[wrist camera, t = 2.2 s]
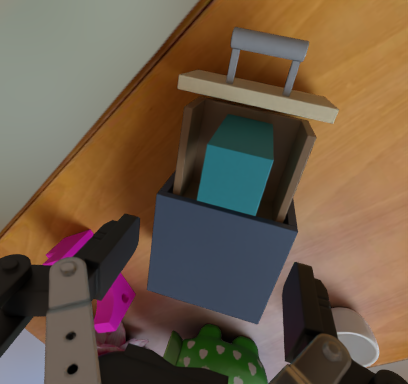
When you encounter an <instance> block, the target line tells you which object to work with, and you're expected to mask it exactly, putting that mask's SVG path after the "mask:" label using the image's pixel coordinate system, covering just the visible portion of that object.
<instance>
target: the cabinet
mask: <svg viewBox="0 0 408 384" xmlns="http://www.w3.org/2000/svg"><path fill="white" fill-rule="evenodd" d="M175 173H176V170H175V172H174V173H173V174H172V175H171V177H170V178H169V179H168V180H167V182H166V183H165V184H164V185H163V187H162V188H161V189H160V191H159V192H158V193H157V196H156V206H155V215H154V225H153V235H152V245H151V255H150V265H149V274H148V284H147V290H148V291H152V292H155V293H158V294H161V295H165V296H168V297H171V298H174V299H177V300H181V301H184V302H187V303H190V304H194V305H197V306H200V307H203V308H206V309H210V310H213V311H216V312H219V313H223V314H226V315H229V316H232V317H235V318H239V319H242V320H245V321H248V322H252V323H255V324H258V323H259V321H260V318H261V316H262V314H263V312H264V309H265V307H266V305H267V302H268V300H269V298H270V295H271V293H272V291H273V289H274V286H275V284H276V282H277V279H278V277H279V275H280V272H281V270H282V268H283V265H284V263H285V261H286V259H287V256H288V254H289V252H290V249H291V247H292V245H293V242H294V240H295V238H296V235H297V233H298V229H297V222H296V215H295V208H294V201H293V199H292V201H291V204H290V206H289V209H288V211H287V214H286V217H285V219H284V222H283V223H280V222H276V221H272V220H269V219H265V218H261V217H257V216H253V215H250V214H246V213H242V212H238V211H235V210H231V209H227V208H223V207H220V206H216V205H212V204H208V203H205V202H201V201H197V200H194V199H190V198H187V197H183V196H179V195H175V194H173V188H174V180H175Z"/></svg>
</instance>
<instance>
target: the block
mask: <svg viewBox="0 0 408 384" xmlns="http://www.w3.org/2000/svg"><path fill="white" fill-rule="evenodd" d="M273 161H274V159H273V124H270V123H266V122H261V121H257V120H253V119H248V118H244V117H240V116H235V115H231V114H227V116H226V117H225V119H224V120H223V122H222V123H221V125H220V126H219V128H218V129H217V131H216V132H215V134H214V135H213V136H212V138H211V139H210V141H209V142H208V144H207V147H206V153H205V158H204V163H203V169H202V174H201V179H200V185H199V190H198V195H197V201H201V202H205V203H208V204H212V205H216V206H220V207H223V208H227V209H231V210H235V211H238V212H242V213H246V214H250V215H253V216H256V213H257V210H258V207H259V204H260V201H261V198H262V195H263V192H264V189H265V185H266V182H267V179H268V176H269V173H270V170H271V167H272V164H273Z"/></svg>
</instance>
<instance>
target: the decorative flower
mask: <svg viewBox="0 0 408 384" xmlns="http://www.w3.org/2000/svg"><path fill="white" fill-rule="evenodd" d="M95 336H96V344H97V352H98V356H99V355H101V354H105V353H108V352H112V351H125V349H126V347H127V345H128V343H131V344H134V345H137V346H140V347H143V346H144V345H146V344H147V343H148V342H149V340H136V338H134V339H131V340H129V341H127V342H126V339H125V329H124V326H123V323H122V322H120V324H119V326H118V328H117V329H116V331H111V332H104V333H98V332H97V331H96V330H95ZM135 340H136V341H135Z"/></svg>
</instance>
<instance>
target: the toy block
mask: <svg viewBox="0 0 408 384" xmlns="http://www.w3.org/2000/svg"><path fill="white" fill-rule="evenodd" d="M93 235H94V234H93V232H92V231H91V229H90V230H87V231H84V232H81V233H78V234H75V235H72V236H69V237H66V238H64V239H63V240H61V241H60V242H59V243H58V244H57V245H56V246H55V247H54V248H53V249H52V250H50V251H49V252H48V253H47V254H46V256H47V257H48V258H49V259H48V260H47V261H46V262H45V263H44V264H43V265H53V264H54V263H55V262H57V261H58V260H60V259H63V258H66V257H73V256H74V255H75V254H76V253H77V252H78V251H79V250H80V249H81V247H82V246H83V245H84V244H85V243H86V242H87V241H88V240H89V239H90V238H92V236H93ZM135 295H136V294H135V293H134V291H133V290H132V288H131V287H130V285H129V284H128V283H127V281H126V280H125V278H124V277H123V275H122V274H121V273H120V274H119V276H118V277H117V279H116V280H115V281H114V283H113V284H112V286H111V287H110V289H109V290H108V292H107V293H106V295H105V296H104V298H103V299H102V301H99V300H97V310H96V315H95V318H94V327H95V330H96V331H97V332H98V333H104V332H111V331H116V329H117V328H118V326H119V324H120V322H121V320H122V319H123V317H124V315H125V313H126V311H127V310H128V308H129V306H130V304H131V302H132V301H133V299H134V297H135Z"/></svg>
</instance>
